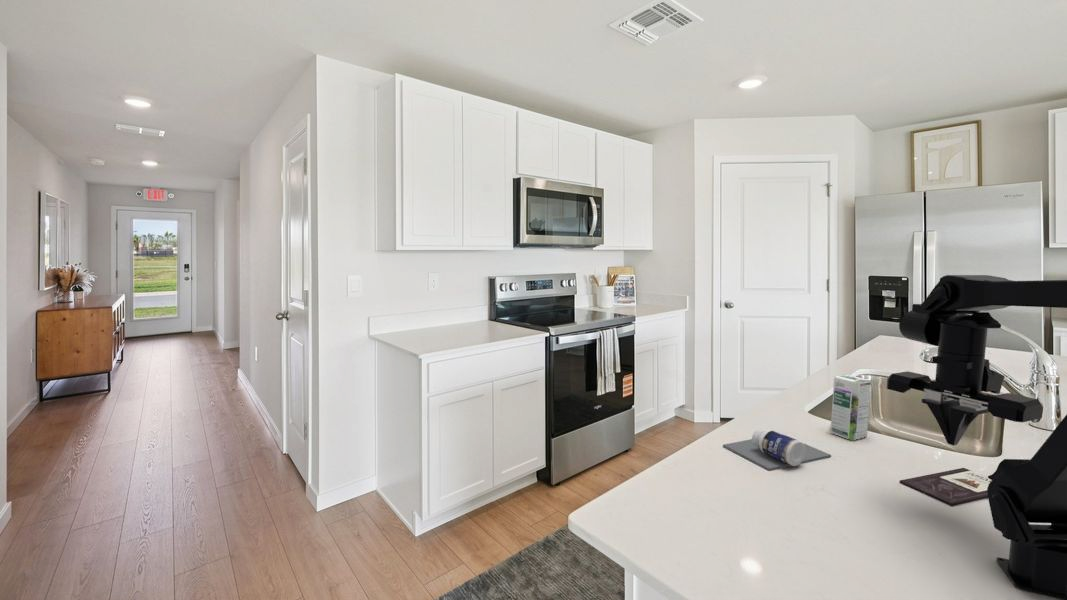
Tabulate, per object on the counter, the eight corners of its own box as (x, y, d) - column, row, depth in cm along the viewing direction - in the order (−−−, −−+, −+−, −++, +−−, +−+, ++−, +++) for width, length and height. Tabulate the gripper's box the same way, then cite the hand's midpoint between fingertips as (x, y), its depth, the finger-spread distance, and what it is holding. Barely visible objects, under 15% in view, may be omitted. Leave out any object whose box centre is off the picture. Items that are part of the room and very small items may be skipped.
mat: (830, 457, 104) (831, 454, 104) (769, 470, 97) (769, 468, 97) (780, 435, 116) (780, 433, 116) (722, 446, 109) (722, 444, 109)
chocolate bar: (899, 480, 92) (963, 467, 97) (899, 485, 92) (963, 472, 98) (951, 503, 84) (1018, 488, 89) (951, 508, 84) (1018, 493, 89)
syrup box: (829, 433, 117) (832, 376, 116) (844, 429, 120) (847, 373, 118) (852, 441, 112) (857, 381, 111) (868, 437, 115) (872, 378, 113)
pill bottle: (785, 460, 96) (745, 443, 105) (799, 470, 99) (759, 453, 107) (796, 436, 97) (756, 421, 106) (809, 447, 99) (769, 431, 108)
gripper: (1067, 360, 71) (1056, 459, 73) (927, 338, 89) (920, 419, 90) (1026, 366, 67) (1015, 471, 69) (887, 343, 85) (881, 427, 86)
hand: (952, 444), depth 79 cm, fingers closed
